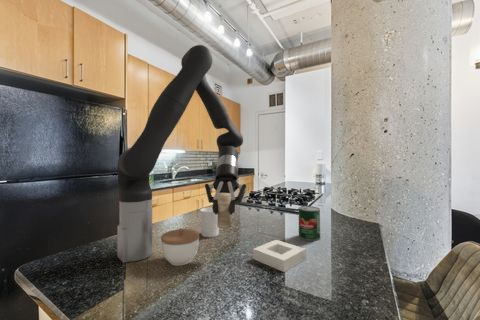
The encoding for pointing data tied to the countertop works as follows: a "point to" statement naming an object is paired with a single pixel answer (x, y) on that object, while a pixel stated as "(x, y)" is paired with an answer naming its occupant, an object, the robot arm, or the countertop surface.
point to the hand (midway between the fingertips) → (223, 212)
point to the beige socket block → (279, 255)
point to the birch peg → (224, 210)
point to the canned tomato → (309, 223)
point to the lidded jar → (180, 246)
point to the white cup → (208, 222)
